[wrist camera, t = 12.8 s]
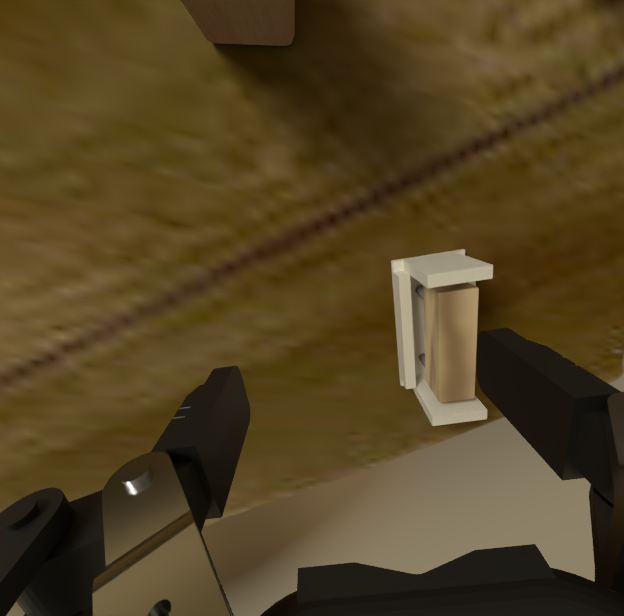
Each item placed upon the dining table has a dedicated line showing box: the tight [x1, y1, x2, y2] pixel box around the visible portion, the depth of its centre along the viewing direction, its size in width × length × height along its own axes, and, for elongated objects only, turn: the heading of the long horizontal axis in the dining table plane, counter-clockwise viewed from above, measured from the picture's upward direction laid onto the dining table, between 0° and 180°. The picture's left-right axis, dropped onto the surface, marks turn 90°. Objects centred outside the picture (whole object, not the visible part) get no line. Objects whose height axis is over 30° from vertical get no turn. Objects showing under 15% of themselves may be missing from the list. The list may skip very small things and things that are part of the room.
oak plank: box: [423, 282, 479, 402], centre depth 39 cm, size 4×15×5 cm, turn 8°
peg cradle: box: [391, 249, 493, 426], centre depth 40 cm, size 10×20×10 cm, turn 9°
